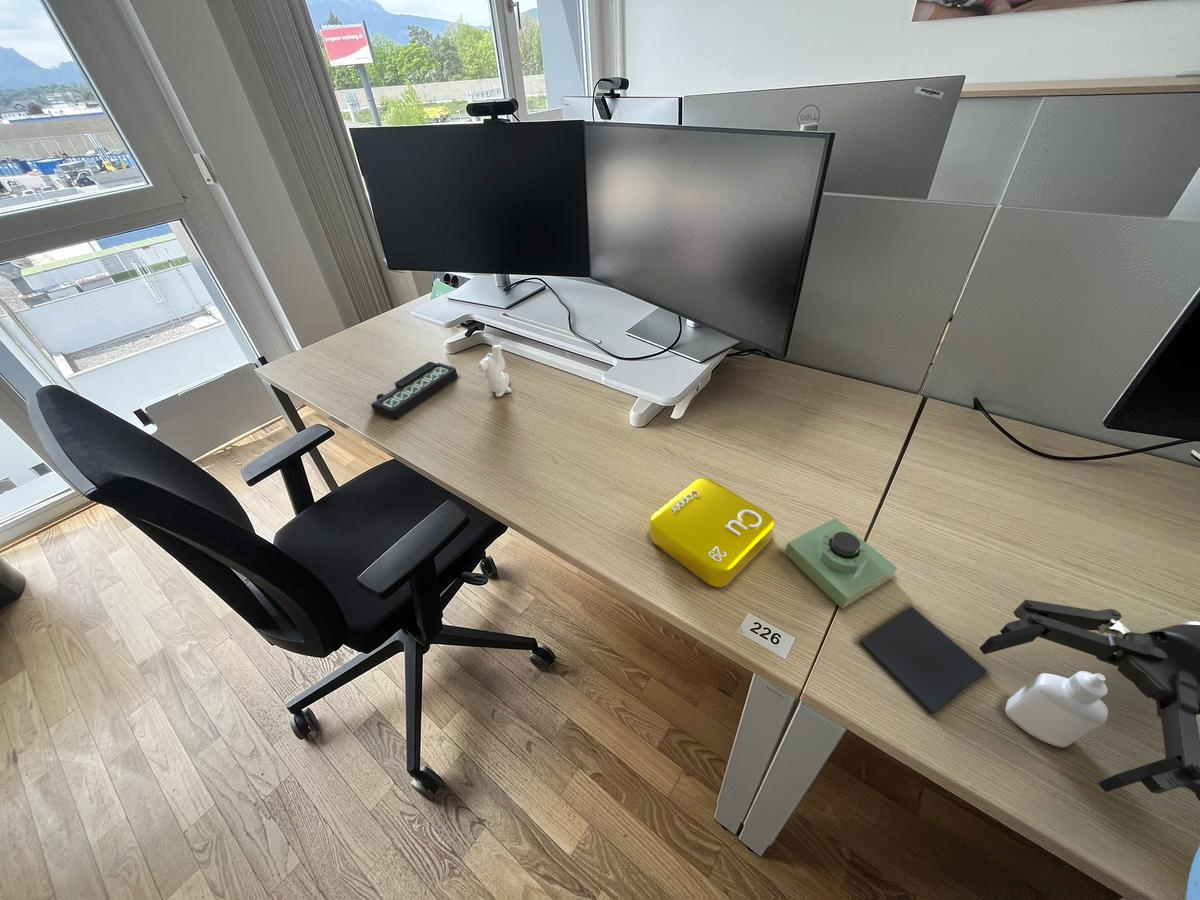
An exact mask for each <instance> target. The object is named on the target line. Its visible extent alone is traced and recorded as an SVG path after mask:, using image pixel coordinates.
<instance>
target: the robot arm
mask: <svg viewBox="0 0 1200 900" xmlns="http://www.w3.org/2000/svg"><path fill="white" fill-rule="evenodd" d="M1012 614H1013V615H1014V617H1016V618H1017V620H1014V621H1010V622H1007V623H1006V624H1005V625H1004V626H1003V627H1002V628H1001V629H1000V630H999V632H1000V633H999V634H996V635H992V636H989V637H988V638H987V639H986V640H985V641H984V643H982V645H981V646H980V647H979V651H980V652H981V653H982V654H983V655H989V654H992V653H995V652H999V651H1003V650H1006V649H1010V648H1013V647H1017V646H1021V645H1025V644H1028V643H1032V642H1034V641H1035V640H1036V639H1037V638H1041V639H1043V640H1046V641H1050V642H1053V643H1056V644H1058V645H1061V646H1065V647H1068V648H1070V649H1074V650H1077V651H1079V652H1082V653H1086V654H1088V655H1091V656H1094V657H1096V659H1097V660H1099V661H1101V662H1103V663H1105V664H1110V665H1112V666H1115V667H1117V669H1116V670H1117V671H1118V672H1119V673H1120V674H1121V675H1122V676H1123V677H1124V678H1126V679H1127V680H1128V681H1130V682H1131V683H1132V684H1134V685H1135V686H1136V688H1137V689H1138V691H1139V692H1141V694H1142V695H1144V696H1145V697H1146V698H1147V699H1149V698H1151V699H1152V700H1154V701H1155V704H1156V705H1155V706H1156V714H1157V715H1156V716H1157V717H1159V718H1160V719H1161V726H1162V728H1161V729H1162V734H1163V746H1164V755H1165V758H1163V759H1160V760H1155V761H1154V762H1150V763H1147V764H1144V765H1141V766H1137V767H1134V768H1131V769H1128V770H1124V771H1122V772H1118V773H1116V774H1114V775H1112V776H1109V777H1107V778H1105V779H1103V780H1100V781H1098V782H1097V784H1098V785H1099V787H1100V788H1101V789H1102V790H1103V792H1104V793H1107V792H1108V793H1109V792H1111V791H1114V790H1117V789H1120V788H1124V787H1127V786H1130V785H1133V784H1136V783H1139V782H1141V784H1142V785H1144V787H1145V788H1146V789H1147V790H1148V791H1149V792H1150V793H1152V794H1157V795H1159V794H1162V793H1165V792H1168V791H1171V790H1175V789H1177V788H1185V789H1187V790H1189V791H1191V792H1192V793H1194V794H1195V797H1196V799H1197V800H1198V801H1199V802H1200V732H1199V727H1198V720H1197V715H1199V716H1200V617H1199V618H1194V619H1191V620H1188V621H1183V622H1180V623H1178V624H1173V625H1170V626H1165V627H1163V628H1158V629H1155V630H1151V631H1148V632H1144V633H1138V632H1135V631H1134V632H1133V631H1131V630H1129V629H1128V628H1127V627H1126V626H1125V625H1124V624H1123V623H1122V622H1121V621H1120V620H1121V619H1122V618H1123V616H1122V614H1121V612H1119V611H1118V610H1117V609H1114V608H1106V609H1099V610H1094V609H1089V608H1081V607H1075V606H1069V605H1064V604H1058V603H1057V604H1056V603H1050V602H1044V601H1038V600H1032V599H1024V600H1023V601H1022V602H1021V603H1020V604H1019V605H1018V606H1017V607H1016V609H1014V610H1013V613H1012ZM1094 631H1097V632H1094ZM1105 633H1106V634H1111V635H1110V636H1109V635H1107V636H1106V635H1103V634H1105ZM1189 870H1190V871H1189V875H1188V879H1187V888H1186V893H1185V900H1200V845H1199V846H1198V848H1197V850H1196V853H1195V855H1194V857H1193V859H1192V863H1191V867H1190V869H1189Z"/></svg>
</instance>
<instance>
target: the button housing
mask: <svg viewBox="0 0 1200 900" xmlns="http://www.w3.org/2000/svg"><path fill="white" fill-rule="evenodd" d="M838 532H847V533H850V534H852V535H854V536H855V537H856V538H857V539H858V540H859V542H860V548H859V550H858V552H857V554H856V556H855V557H854V558H851V559H844V558H841V557H839V556H837V555H835V554H834V553H833V552H832V550H831V548H830V543H831V541H832V538H833V536H834V535H835V534H836V533H838ZM784 555H785V556H786V557H787V558H788V559H790V560H791V561H792V563H794V564H795V565H796V566H797V567H798V568H799V569H800V570H801V571H802V572H803V573H804V574H805V575H806V576H807V577H809V579H810V580H812V582H813V583H815V585H816V586H818V588H820V589H821V591H823V593H825V594H826V595H827V596H828V597H829V598H830V599H831V600H832V601H834V603H835V604H837V606H839V608H841V609H844V608H845V607H847V606H849V605H851V604H852V603H854V602H856V601H857V600H858V599H860V598H861V597H863V596H866V595H867V594H868V593H870V592H871V591H873V590H875V589H876V588H878V587H879V586H881V585H883V584H885V583H886V582H888V581H889V580H891V579H892V578H893V576H894V574H895V572H896V570H897V569H898V567H897V566H896V565H895V564H894V563H892V562H891V561H890V560H889V559H888V558H886V557H884V555H882V554H881V553H880V552H879V551H877V550H876V549H875V548H873V547H872V546H871V545H870V544H869V543H867V542H866V541H865V540H863V539H862V538H861V537H860V536H858V535H857V534H856V533H855V532H854V531H853V530H851V529H850V528H848V527H847V526H846V525H845V524H843V523H842V522H841V521H840V520H838V518H836V517H834V518H832V519H830V520H828V521H825V523H822V524H820V525H819V526H817V527H815V528H813V529H811V530H809V531H808V532H805V533H804V534H801V535H800V536H798V537H796V538H795V539H792V540H790V541H788V542H787V544H786V547H785V550H784Z"/></svg>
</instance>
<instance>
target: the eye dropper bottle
mask: <svg viewBox="0 0 1200 900" xmlns="http://www.w3.org/2000/svg"><path fill="white" fill-rule="evenodd" d="M1105 681H1106V676H1105V675H1103V674H1102V673H1098V672H1097V673H1091V672H1090V671H1087V670H1085V671H1084V670H1079V671H1077V672H1076V673H1074V674H1073V675H1071V676H1070V677H1069V678H1068V677H1064V676H1062V675H1058V674H1054V673H1053V674H1052V673H1046V672H1045V673H1040V674H1038V675H1037V676H1035V677H1034V678H1033V679H1032V680H1030V681H1029V682H1028V683H1026V684H1025V685H1024V686H1023V687H1022V688H1021V689H1019V690H1018V691H1016V693H1015V694H1013V695H1012V696H1011V697H1009V699H1008V700H1007V702H1006V706H1005V710H1004V711H1005V714H1006V716H1007V717H1008V718H1009V719H1010V720H1011V721H1012V722H1013V723H1015V725H1016V726H1018V727H1019V728H1021V729H1022V730H1023V731H1025V732H1026V733H1028V734H1029V735H1030V736H1032V737H1034V738H1035V739H1038V740H1040V741H1042V742H1044V743H1046V744H1049V745H1052V746H1054V747H1058V748H1067V747H1069V746H1070V745H1072V744H1074V743H1076V742H1078V741H1079V740H1081V739H1082V738H1084V737H1085V736H1087V735H1089V734H1090V733H1092V732H1094V731H1095V730H1097V729H1099V728H1100V727H1101V726H1103V725H1104V724H1105V723H1106V722H1107V720H1108V715H1109V708H1108V706H1107V705H1106V704H1105V702H1104V701H1102V700H1101V699H1102V698H1104V697H1105V696H1107V694H1108V690H1109V689H1108V687H1107V684H1106V683H1105Z"/></svg>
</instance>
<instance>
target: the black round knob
mask: <svg viewBox="0 0 1200 900" xmlns="http://www.w3.org/2000/svg"><path fill="white" fill-rule="evenodd" d="M830 548H831V550H832V552H833V553H834V554H835V555H837V556H839V557H841V558H844V559H851V558H854V557H855V556H856V554H857V552H858V550H859V548H860V542H859V540H858V539H857V538H856V537H855V536H854V535H852V534H850V533H847V532H838V533H836V534H835V535H834V536H833V538H832V541H831V543H830Z"/></svg>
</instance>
